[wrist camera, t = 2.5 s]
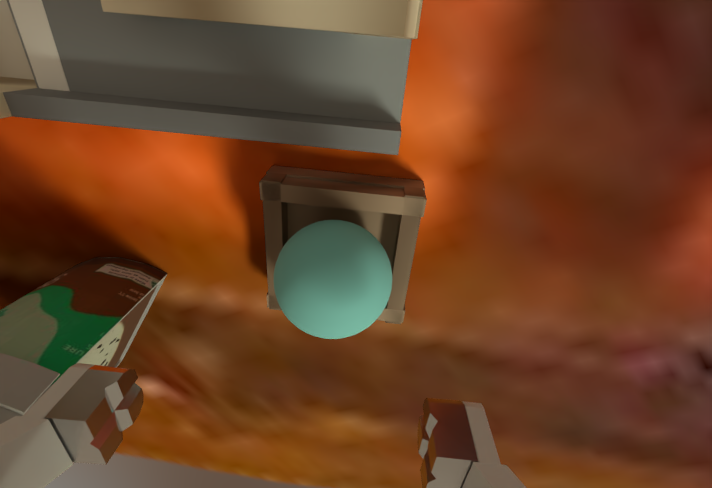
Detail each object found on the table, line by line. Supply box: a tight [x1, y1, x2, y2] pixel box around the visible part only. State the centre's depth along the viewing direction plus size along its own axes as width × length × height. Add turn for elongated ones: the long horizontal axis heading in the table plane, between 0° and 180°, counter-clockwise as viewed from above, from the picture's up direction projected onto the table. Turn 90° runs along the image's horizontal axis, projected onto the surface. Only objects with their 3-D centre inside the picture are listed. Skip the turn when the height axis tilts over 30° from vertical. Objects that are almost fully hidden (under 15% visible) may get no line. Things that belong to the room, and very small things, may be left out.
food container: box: [0, 257, 167, 424], centre depth 17 cm, size 12×6×10 cm, turn 145°
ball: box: [274, 220, 392, 339], centre depth 15 cm, size 5×5×5 cm
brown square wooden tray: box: [259, 165, 427, 324], centre depth 17 cm, size 7×7×2 cm
